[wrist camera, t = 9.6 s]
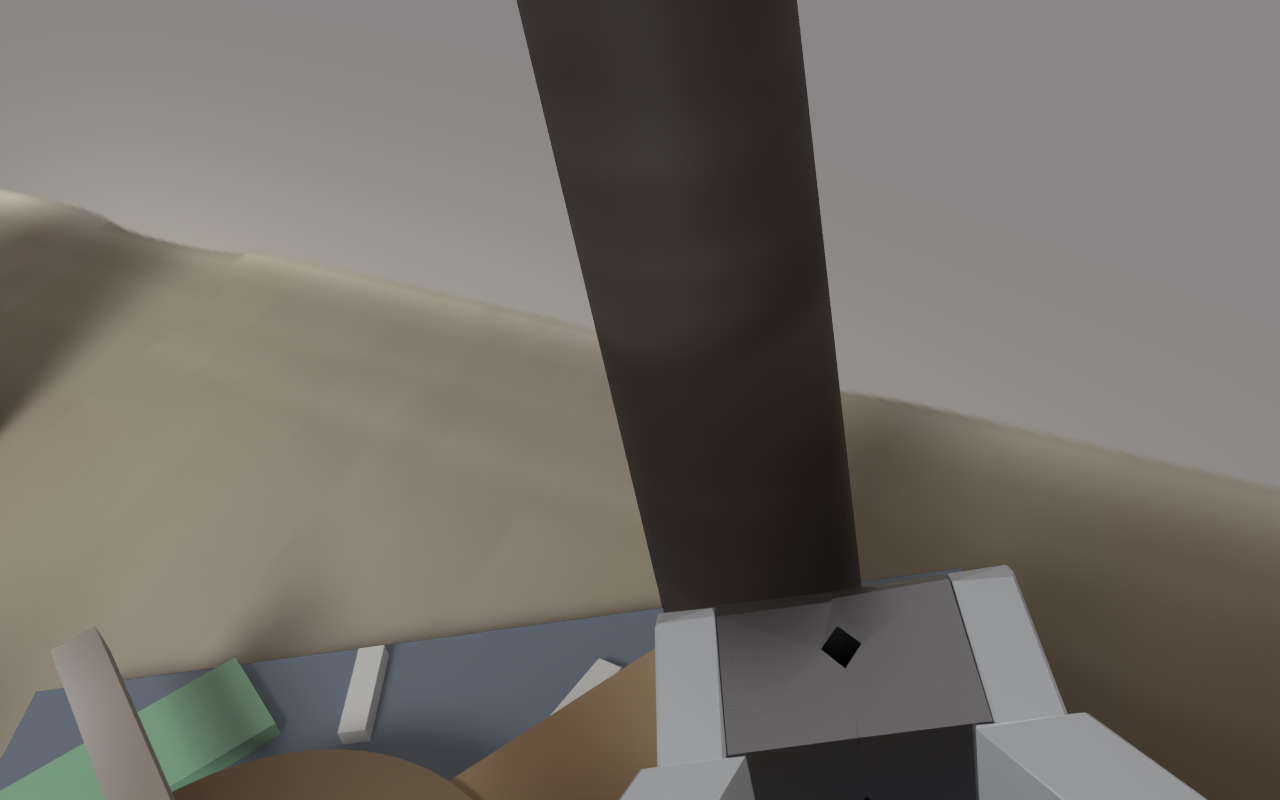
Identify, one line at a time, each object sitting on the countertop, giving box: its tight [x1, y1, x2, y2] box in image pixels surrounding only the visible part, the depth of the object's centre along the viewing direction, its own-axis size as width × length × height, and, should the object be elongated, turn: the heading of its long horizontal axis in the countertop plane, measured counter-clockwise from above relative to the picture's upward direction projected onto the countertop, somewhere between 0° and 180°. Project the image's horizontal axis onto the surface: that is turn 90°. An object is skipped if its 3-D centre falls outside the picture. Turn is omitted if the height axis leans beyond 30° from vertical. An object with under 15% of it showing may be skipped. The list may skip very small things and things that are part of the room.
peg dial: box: [50, 0, 861, 800], centre depth 15 cm, size 14×12×14 cm
